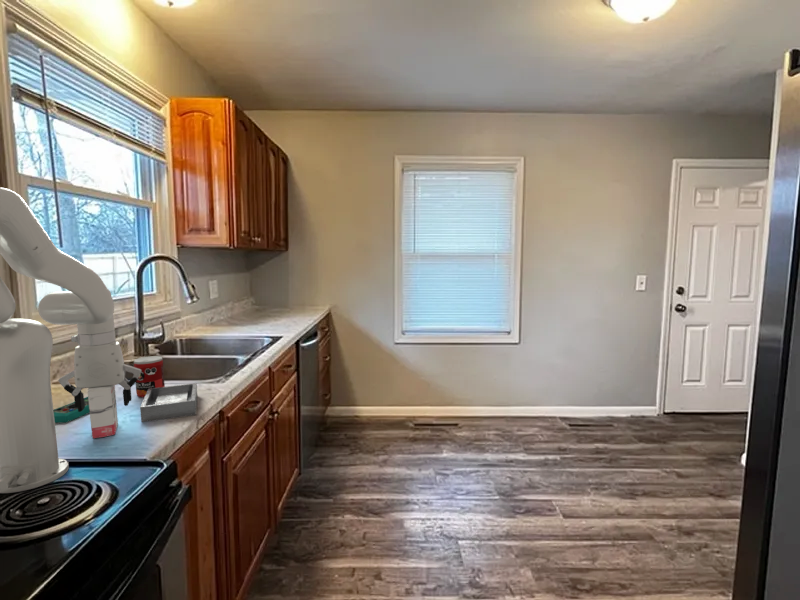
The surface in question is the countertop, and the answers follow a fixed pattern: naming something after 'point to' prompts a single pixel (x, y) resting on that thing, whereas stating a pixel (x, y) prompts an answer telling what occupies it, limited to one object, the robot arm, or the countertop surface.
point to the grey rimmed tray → (169, 402)
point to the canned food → (149, 374)
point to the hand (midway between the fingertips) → (104, 406)
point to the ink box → (103, 411)
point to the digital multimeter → (70, 412)
